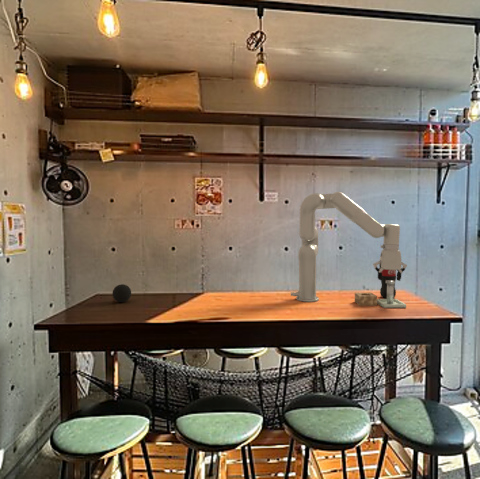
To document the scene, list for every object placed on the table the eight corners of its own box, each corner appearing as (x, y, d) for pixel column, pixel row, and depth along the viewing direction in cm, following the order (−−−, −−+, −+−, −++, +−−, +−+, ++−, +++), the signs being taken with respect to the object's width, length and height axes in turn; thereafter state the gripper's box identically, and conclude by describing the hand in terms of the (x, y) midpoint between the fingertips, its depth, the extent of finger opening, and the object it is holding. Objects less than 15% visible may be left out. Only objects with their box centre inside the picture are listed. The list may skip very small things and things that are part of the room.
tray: (383, 307, 186) (383, 304, 186) (375, 302, 199) (375, 299, 199) (406, 307, 186) (406, 304, 186) (396, 302, 199) (396, 299, 198)
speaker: (134, 300, 208) (133, 282, 207) (127, 304, 198) (126, 286, 197) (117, 300, 209) (116, 282, 208) (109, 304, 199) (109, 286, 198)
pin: (387, 304, 190) (387, 281, 190) (384, 302, 195) (384, 280, 194) (396, 304, 190) (396, 281, 189) (392, 302, 195) (393, 280, 194)
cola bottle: (398, 299, 206) (399, 246, 204) (383, 299, 206) (384, 246, 204) (392, 295, 214) (393, 245, 213) (377, 296, 215) (378, 245, 213)
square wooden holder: (359, 305, 191) (359, 296, 191) (354, 301, 200) (354, 292, 200) (376, 305, 191) (377, 296, 191) (371, 301, 200) (371, 292, 200)
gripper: (376, 248, 187) (375, 280, 188) (410, 248, 187) (408, 281, 188) (371, 246, 195) (370, 278, 196) (404, 247, 194) (402, 279, 195)
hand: (389, 280), depth 192 cm, fingers open, 9 cm apart
